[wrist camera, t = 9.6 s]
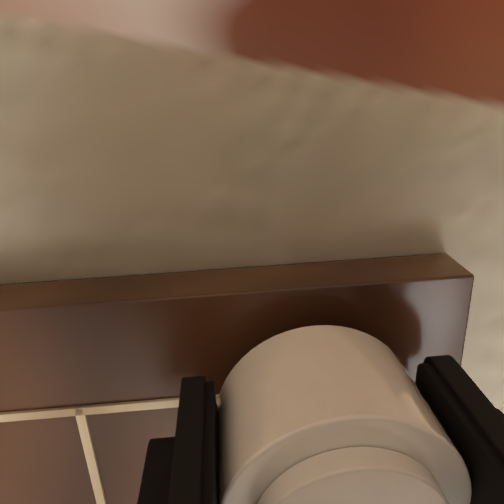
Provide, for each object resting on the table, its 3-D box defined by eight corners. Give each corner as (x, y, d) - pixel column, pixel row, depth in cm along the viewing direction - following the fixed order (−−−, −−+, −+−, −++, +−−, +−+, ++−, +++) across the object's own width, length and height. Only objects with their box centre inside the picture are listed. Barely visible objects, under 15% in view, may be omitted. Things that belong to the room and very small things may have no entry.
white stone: (417, 315, 10) (509, 425, 7) (402, 471, 12) (469, 615, 9) (208, 332, 10) (205, 454, 7) (223, 489, 12) (227, 645, 9)
